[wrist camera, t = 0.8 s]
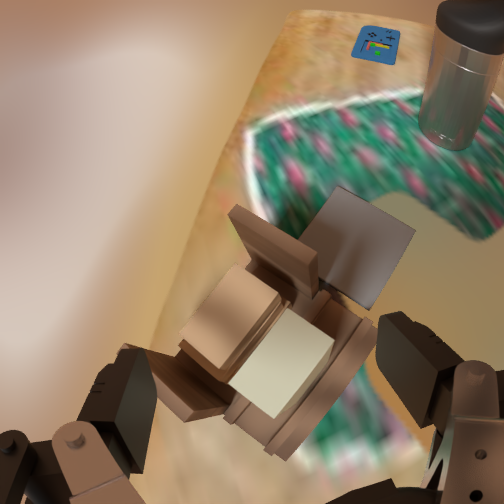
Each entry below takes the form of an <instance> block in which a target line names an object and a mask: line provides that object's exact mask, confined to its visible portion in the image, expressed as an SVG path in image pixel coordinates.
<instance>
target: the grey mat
mask: <svg viewBox="0 0 504 504" xmlns="http://www.w3.org/2000/svg"><path fill="white" fill-rule="evenodd" d="M415 231H416V230H415V229H413V228H411V227H409V226H408V225H406V224H404V223H403V222H401V221H399V220H398V219H396V218H394V217H393V216H391V215H389V214H387V213H386V212H384V211H382V210H380V209H378V208H377V207H375V206H373V205H371V204H370V203H368V202H366V201H364V200H362V199H361V198H359V197H357V196H355V195H353V194H351V193H350V192H348V191H346V190H344V189H342V188H340V187H338V186H337V188H336V189H335V190H334V192H333V193H332V194H331V196H330V197H329V198H328V200H327V201H326V202H325V204H324V205H323V207H322V208H321V209H320V211H319V212H318V213H317V215H316V216H315V217H314V219H313V220H312V221H311V223H310V224H309V225H308V227H307V228H306V229H305V231H304V232H303V233H302V235H301V236H300V237H299V239H298V241H300V242H301V243H303V244H305V245H306V246H308V247H310V248H311V249H313V250H314V251H316V252H317V255H318V278H319V279H321V280H322V281H324V282H325V283H327V284H328V285H330V286H331V287H333V288H335V289H336V290H338V291H339V292H341V293H342V294H344V295H345V296H347V297H348V298H350V299H352V300H353V301H355V302H356V303H358V304H359V305H361V306H362V307H364V308H365V309H367V310H370V308H371V307H372V305H373V304H374V302H375V301H376V299H377V297H378V296H379V294H380V293H381V291H382V289H383V288H384V286H385V284H386V283H387V281H388V279H389V278H390V276H391V274H392V272H393V271H394V269H395V267H396V266H397V264H398V262H399V260H400V259H401V257H402V255H403V253H404V252H405V250H406V248H407V246H408V244H409V242H410V241H411V239H412V237H413V235H414V233H415Z"/></svg>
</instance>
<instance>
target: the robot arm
mask: <svg viewBox="0 0 504 504" xmlns="http://www.w3.org/2000/svg"><path fill="white" fill-rule="evenodd" d="M503 58H504V0H447V1H444V2H442V3H441V4H440V5H439V6H438V9H437V15H436V23H435V31H434V38H433V46H432V52H431V58H430V64H429V69H428V75H427V80H426V85H425V90H424V95H423V99H422V104H421V108H420V113H419V118H418V124H419V126H420V129H421V130H422V132H423V133H424V135H425V136H426V137H427V138H428V139H430V140H431V141H432V142H433V143H435V144H437V145H438V146H441V147H443V148H446V149H449V150H463V149H466V148H468V147H469V146H470V145H471V143H472V141H473V139H474V136H475V134H476V132H477V129H478V127H479V125H480V122H481V120H482V117H483V115H484V112H485V110H486V107H487V105H488V102H489V99H490V97H491V94H492V91H493V88H494V85H495V83H496V80H497V77H498V74H499V71H500V67H501V64H502V61H503ZM376 344H377V345H376V362H377V365H378V368H379V369H380V371H381V372H382V373H383V375H384V376H385V378H386V379H387V381H388V382H389V384H390V385H391V386H392V388H393V389H394V391H395V392H396V394H397V395H398V396H399V398H400V399H401V401H402V402H403V404H404V405H405V407H406V408H407V410H408V411H409V412H410V414H411V415H412V417H413V418H414V420H415V421H416V423H417V424H418V426H419V427H420V428H421V429H422V428H424V427H427V426H429V425H432V424H434V426H435V427H436V429H435V431H434V434H433V439H432V444H431V449H430V453H429V458H428V462H427V466H426V470H425V474H424V477H423V480H422V483H421V485H420V488H419V487H399V488H396V487H395V485H394V483H393V481H392V479H391V478H390V479H387V480H384V481H381V482H378V483H375V484H372V485H369V486H366V487H362V488H359V489H356V490H352V491H350V492H348V493H346V494H344V495H342V496H340V497H338V498H336V499H334V500H332V501H330V502H328V503H326V504H504V370H501V371H495V370H494V369H493V368H492V367H491V366H490V365H488V364H486V363H484V362H481V361H476V360H470V361H464V360H463V359H462V358H461V357H460V356H459V355H458V354H456V352H455V351H453V350H452V349H451V348H450V347H449V346H448V345H447V344H446V343H445V342H443V341H442V339H440V338H439V337H438V336H436V334H435V333H434V332H433V331H432V330H431V329H429V328H428V327H427V326H425V325H422V324H420V323H418V322H416V321H415V322H413V321H412V320H411V319H410V318H409V317H407V316H406V315H405V314H404V313H403V312H402V311H398V312H394V313H390V314H385V315H382V316H380V318H379V322H378V333H377V343H376ZM156 403H157V389H156V384H155V381H154V378H153V375H152V372H151V368H150V365H149V362H148V359H147V356H146V353H145V350H144V349H143V348H126V349H121V350H120V351H119V353H118V356H117V358H116V360H115V362H114V364H108V365H106V366H105V367H104V368H103V369H102V370H101V371H100V372H99V373H98V375H97V377H96V379H95V382H94V385H93V386H92V388H91V390H90V393H89V394H88V397H87V399H86V401H85V403H84V405H83V407H82V410H81V412H80V414H79V416H78V418H77V420H76V421H74V422H70V423H67V424H65V425H63V426H62V427H60V428H59V429H58V430H57V431H56V432H55V434H54V436H53V438H52V440H48V441H41V442H33V443H30V441H29V440H28V438H27V437H26V435H25V434H24V433H22V432H21V431H17V430H10V431H6V432H3V433H2V434H0V504H20V503H21V500H22V497H23V494H25V495H26V496H27V498H26V501H25V504H146V503H145V502H144V500H143V499H142V498H141V496H140V495H139V494H138V492H137V491H136V490H135V488H134V487H133V485H132V484H131V483H130V481H129V478H130V473H135V474H143V470H144V465H145V459H146V453H147V448H148V443H149V438H150V432H151V427H152V422H153V417H154V412H155V408H156Z"/></svg>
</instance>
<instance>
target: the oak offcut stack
mask: <svg viewBox="0 0 504 504" xmlns="http://www.w3.org/2000/svg"><path fill="white" fill-rule="evenodd" d="M287 308H288V309H290V310H291V309H292V305H291V302H289V301H288V300H287V299H285V298H284V297H282V296H281V295H279V293H278V292H277V291H275V290H274V289H272V288H271V287H269V286H268V285H267V284H265V283H264V282H262V281H261V280H259V279H258V278H256V277H255V276H254V275H252V274H251V273H249V272H248V271H246V270H245V269H243V268H242V267H241V266H239V265H238V264H236V263H234V265H233V266H232V267H231V268H230V270H229V271H228V272H227V273H226V275H225V276H224V277H223V278H222V280H221V281H220V282H219V283H218V285H217V286H216V287H215V289H214V290H213V291H212V292H211V294H210V295H209V296H208V297H207V299H206V300H205V301H204V302H203V304H202V305H201V306H200V307H199V309H198V310H197V311H196V312H195V314H194V315H193V316H192V317H191V319H190V320H189V321H188V322H187V324H186V325H185V326H184V328H183V329H182V330H181V331H180V333H179V335H180V336H182V337H183V338H184V339H183V340H182V341H181V343H180V344H179V345H178V346H179V347H180V348H181V349H183V350H184V351H185V352H186V353H187V354H188V355H189V356H190V357H192V358H193V359H194V360H195V361H196V362H197V363H198V364H199V365H201V366H202V367H203V368H204V369H205V370H206V371H208V372H209V373H210V374H211V375H212V376H213V377H215V378H216V379H217V380H218V381H222V382H224V383H225V384H226V385H230V384H228V383H229V382H230V380H231V379H232V378H233V377H234V376H235V374H236V373H237V372H238V371H239V369H240V368H241V367H242V366H243V364H244V363H245V362H246V361H247V359H248V358H249V357H250V356H251V354H252V353H253V352H254V350H255V349H256V348H257V347H258V345H259V344H260V343H261V341H262V340H263V339H264V338H265V336H266V335H267V334H268V332H269V331H270V330H271V328H272V327H273V326H274V325H275V323H276V322H277V321H278V319H279V318H280V317H281V315H282V314H283V313H284V311H285V310H286V309H287Z"/></svg>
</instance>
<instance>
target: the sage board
mask: <svg viewBox="0 0 504 504" xmlns="http://www.w3.org/2000/svg"><path fill="white" fill-rule="evenodd" d="M334 341H335V340H334V339H332V338H331V337H329V336H328V335H326V334H325V333H323V332H322V331H321V330H319V329H318V328H316V327H315V326H313V325H312V324H310V323H309V322H307V321H306V320H304V319H303V318H302V317H300V316H299V315H297V314H296V313H294V312H293V311H291V310H290V309H288V308H287V309H286V310H285V311H284V313H283V314H282V315H281V317H280V318H279V319H278V321H277V322H276V323H275V325H274V326H273V327H272V328H271V330H270V331H269V332H268V334H267V335H266V336H265V338H264V339H263V340H262V341H261V343H260V344H259V345H258V347H257V348H256V349H255V350H254V352H253V353H252V354H251V356H250V357H249V358H248V359H247V361H246V362H245V363H244V364H243V366H242V367H241V368H240V369H239V371H238V372H237V373H236V374H235V376H234V377H233V378H232V379H231V380H230V382H229V383H228V384H230V385H231V386H232V387H233V388H235V389H236V390H237V391H238V392H240V393H241V394H242V395H243V396H245V397H246V398H247V399H248V400H250V401H251V402H252V403H254V404H255V405H256V406H257V407H259V408H260V409H261V410H263V411H264V412H265V413H267V414H268V415H269V416H271V417H272V418H273V419H275V418H276V417H278V416H279V415H280V414H282V413H283V412H285V411H286V410H287V409H289V408H290V407H292V406H293V405H294V404H296V403H297V402H298V401H299V399H300V398H301V397H302V395H303V394H304V393H305V392H306V390H307V389H308V388H309V386H310V385H311V384H312V383H313V381H314V380H315V379H316V377H317V376H318V375H319V373H320V372H321V371H322V369H323V368H324V367H325V365H326V364H327V362H328V360H329V357H330V353H331V350H332V347H333V344H334Z"/></svg>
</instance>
